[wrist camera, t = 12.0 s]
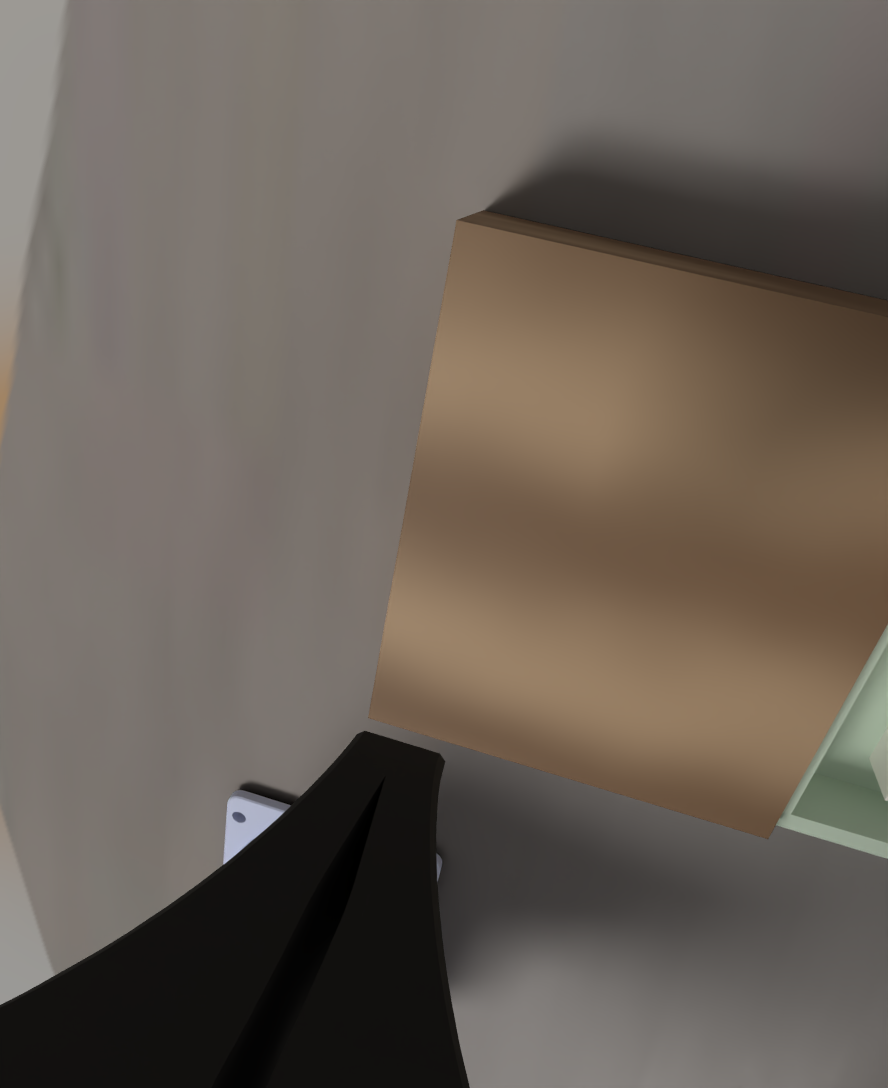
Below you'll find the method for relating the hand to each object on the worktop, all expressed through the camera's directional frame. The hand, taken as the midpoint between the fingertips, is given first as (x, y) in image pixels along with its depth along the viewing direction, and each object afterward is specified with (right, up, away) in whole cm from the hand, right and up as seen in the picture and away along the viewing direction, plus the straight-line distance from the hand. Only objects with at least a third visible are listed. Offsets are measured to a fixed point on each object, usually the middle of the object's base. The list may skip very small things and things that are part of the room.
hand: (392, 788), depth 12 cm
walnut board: (+6, +5, +8) cm, 11 cm away
